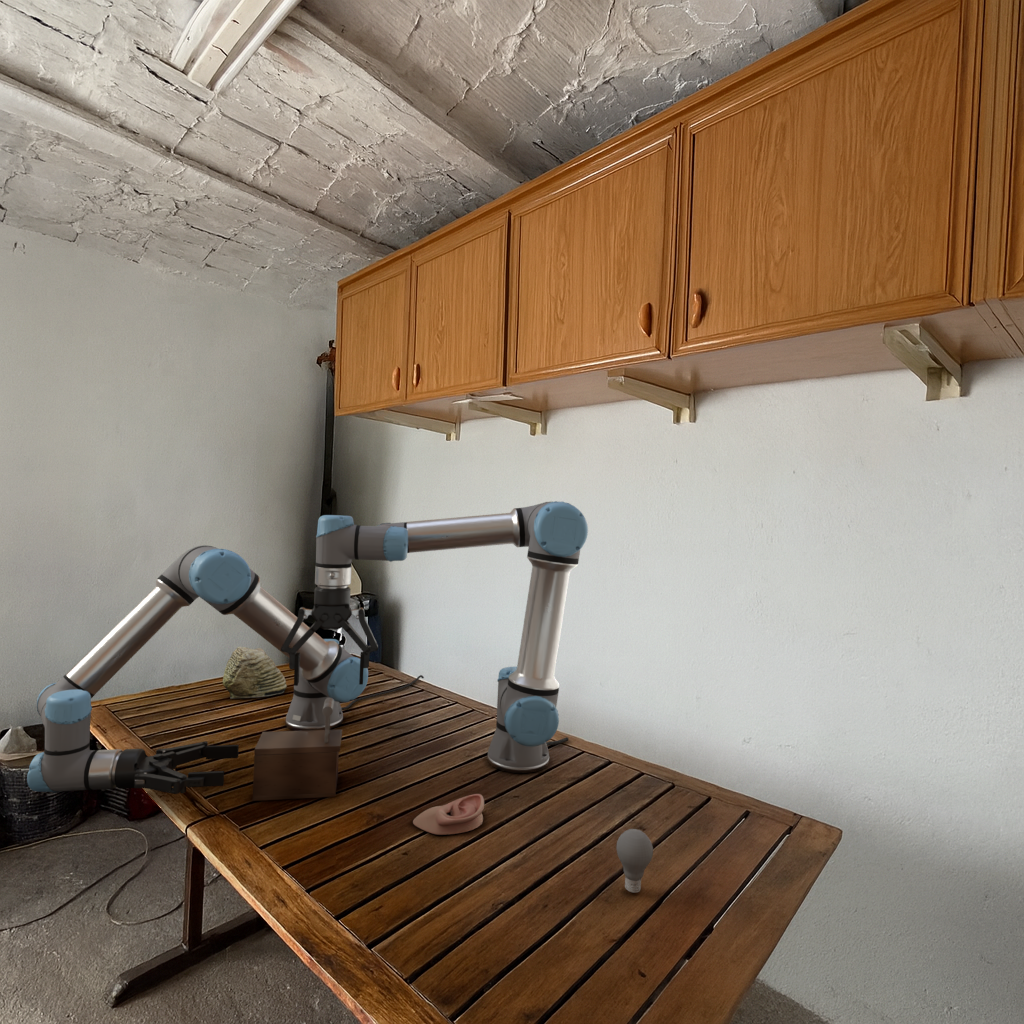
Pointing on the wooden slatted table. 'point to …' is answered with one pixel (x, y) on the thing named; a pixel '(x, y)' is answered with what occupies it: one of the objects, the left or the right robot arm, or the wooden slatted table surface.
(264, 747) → the lid
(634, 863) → the light bulb
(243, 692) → the fossil
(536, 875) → the wooden slatted table surface
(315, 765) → the chest
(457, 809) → the anatomical model
